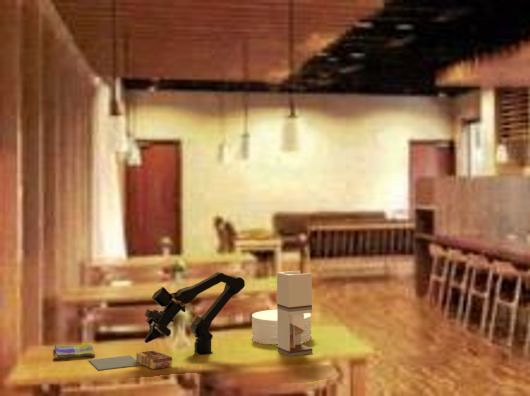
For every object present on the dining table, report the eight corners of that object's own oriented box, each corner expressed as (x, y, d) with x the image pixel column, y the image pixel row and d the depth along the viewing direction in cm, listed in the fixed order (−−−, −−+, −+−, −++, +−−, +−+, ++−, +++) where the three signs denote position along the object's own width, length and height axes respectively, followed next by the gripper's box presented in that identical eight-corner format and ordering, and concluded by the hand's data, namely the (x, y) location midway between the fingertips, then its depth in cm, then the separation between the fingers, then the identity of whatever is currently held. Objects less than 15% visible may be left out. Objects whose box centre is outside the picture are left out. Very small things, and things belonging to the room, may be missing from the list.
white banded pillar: (289, 356, 340) (288, 275, 338) (277, 351, 349) (276, 272, 348) (312, 353, 345) (311, 273, 344) (300, 348, 354) (299, 270, 353)
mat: (130, 356, 344) (130, 355, 344) (141, 365, 327) (141, 364, 327) (88, 360, 336) (88, 360, 336) (98, 370, 320) (98, 369, 320)
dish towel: (93, 347, 364) (93, 341, 364) (95, 359, 341) (95, 353, 341) (54, 349, 360) (54, 343, 360) (53, 362, 336) (53, 355, 336)
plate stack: (312, 345, 361) (312, 320, 361) (251, 345, 362) (251, 320, 361) (310, 332, 389) (309, 309, 389) (253, 333, 390) (252, 309, 389)
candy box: (135, 362, 332) (152, 369, 319) (135, 352, 332) (152, 358, 319) (154, 360, 337) (172, 367, 324) (155, 350, 337) (172, 356, 324)
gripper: (149, 298, 347) (125, 326, 343) (162, 305, 330) (137, 334, 326) (167, 314, 350) (144, 342, 346) (181, 321, 334) (157, 351, 329)
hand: (145, 342), depth 337 cm, fingers closed
